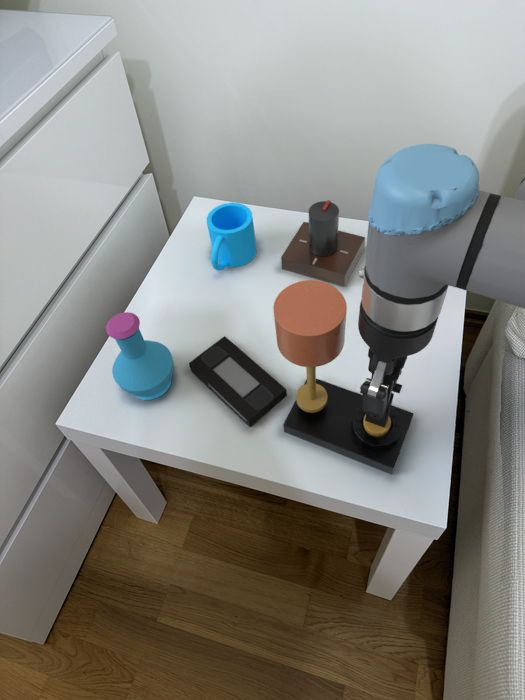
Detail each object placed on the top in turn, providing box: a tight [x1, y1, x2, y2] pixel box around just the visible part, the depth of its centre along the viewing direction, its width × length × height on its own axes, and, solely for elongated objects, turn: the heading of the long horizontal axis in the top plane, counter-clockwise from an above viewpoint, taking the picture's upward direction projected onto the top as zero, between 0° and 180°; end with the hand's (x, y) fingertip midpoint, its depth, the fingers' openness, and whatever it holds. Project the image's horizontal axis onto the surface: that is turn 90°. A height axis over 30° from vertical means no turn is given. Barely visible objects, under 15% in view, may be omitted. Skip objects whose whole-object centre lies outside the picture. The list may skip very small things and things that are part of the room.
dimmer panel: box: [280, 221, 366, 288], centre depth 93 cm, size 12×10×3 cm
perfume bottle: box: [105, 311, 174, 401], centre depth 76 cm, size 9×9×15 cm
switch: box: [363, 415, 391, 437], centre depth 70 cm, size 4×4×2 cm
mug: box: [206, 202, 258, 272], centre depth 93 cm, size 12×8×8 cm
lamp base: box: [282, 378, 415, 476], centre depth 73 cm, size 16×9×4 cm, turn 64°
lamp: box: [273, 279, 348, 413], centre depth 65 cm, size 8×8×20 cm
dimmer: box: [308, 199, 340, 257], centre depth 88 cm, size 5×5×8 cm
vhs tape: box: [188, 335, 288, 428], centre depth 79 cm, size 8×14×2 cm, turn 42°
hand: (376, 419), depth 69 cm, fingers closed
